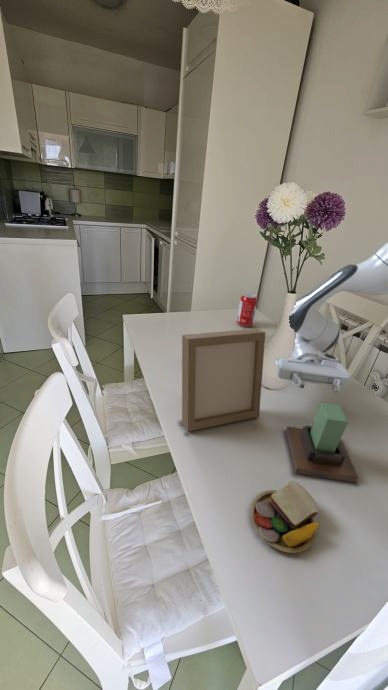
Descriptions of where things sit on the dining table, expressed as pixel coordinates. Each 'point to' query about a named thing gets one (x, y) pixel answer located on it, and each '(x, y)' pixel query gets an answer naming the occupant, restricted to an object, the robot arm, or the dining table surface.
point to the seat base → (318, 457)
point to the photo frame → (221, 377)
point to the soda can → (247, 309)
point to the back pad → (328, 428)
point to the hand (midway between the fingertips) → (319, 388)
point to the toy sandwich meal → (285, 517)
